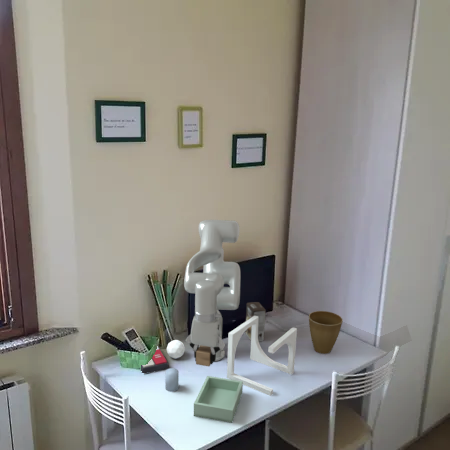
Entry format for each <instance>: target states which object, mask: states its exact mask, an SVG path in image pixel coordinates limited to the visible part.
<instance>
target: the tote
mask: <svg viewBox="0 0 450 450" xmlns="http://www.w3.org/2000/svg"><path fill="white" fill-rule="evenodd" d="M243 386H244V385H243V381H237V380H231V379H228V378H223V377H216V376H210V375H207V376H206V378H205V380H204V382H203V384H202V386H201V388H200V390H199V392H198V394H197V396H196V399H195V400H194V403H193V416H194V417H197V418H202V419H208V420H214V421H219V422H224V423H231V424H232V423H233V422H234V419H235V416H236V413H237V410H238V407H239V404H240V401H241V398H242V395H243Z"/></svg>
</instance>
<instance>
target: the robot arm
mask: <svg viewBox="0 0 450 450" xmlns="http://www.w3.org/2000/svg"><path fill="white" fill-rule="evenodd" d="M198 235H199V239H200V246H199V247H200V248H199V251H198V252H196V253H195V254H193V256H192V257H191V258H190V259H189V260H188V262H187V264H186V266H185V273H184V279H183V280H184V281H183V286H184V290H185V291H186V293H189V294H195V296H194V306H195V307H194V316H193V319H192V323H191V329H190V334H189V335H188V336H187V337H186V339H185V341H184V342H186V343H187V344H188V345H189V346H190V347H191V349H192V351H194V352H193V353H194V354H193V358H194V360H195V362H196V351H197V350H198V348H199V347H200V345H202V346H208V347H210V348H211V355H210V365H213V364H214V362H219V361H221V360H222V359H223V358H225V356H226V351H225V349H224V348H225V347H226V343H225V342H224V340H223V338H222V337H223V317H222V316H223V315H222V313H221V312H220V311H219V310H224V311H225V310H226V311H235V310H237V309H239V307H240V306H239V305H240V302H241V301H240V300H241V267H240V265H239V264H238V263H237V262H235V261H225V260H224V255H225V254H224V253H225V251H224V250H225V249H224V248H223V243H229V244H230V243H233V244H235V243H237V242H238V240H239V237H240V224H239V222H238V221H236V220H226V219H225V220H223V219H204V220H201V221H200V222H199V223H198ZM201 267H203V271H202V272H195V271H197V269H199V268H201ZM224 285H229V286H224Z"/></svg>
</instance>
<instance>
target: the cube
mask: <svg viewBox="0 0 450 450" xmlns="http://www.w3.org/2000/svg"><path fill="white" fill-rule="evenodd" d="M210 355H211V348H210V347H208V346H202V345H199V348H198V350H197V351H196V361H195V365H198V366H204V367H210V366H211V364H210Z"/></svg>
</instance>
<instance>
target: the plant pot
mask: <svg viewBox="0 0 450 450" xmlns="http://www.w3.org/2000/svg"><path fill="white" fill-rule="evenodd" d="M343 320H344V319H343V317H342V316H340V315H339V314H337V313H335V312H331V311H327V310H316V311H312V312H310V313H309V314H308V326H309V334H310V338H311V342H312V346H313V349H314V351H315V352H316V353H318V354H320V355H321V354H322V355H327V354H330V353H331V352H332V350H333V348H334V346H335V344H336V342H337V340H338V337H339V335H340V332H341V329H342V325H343Z"/></svg>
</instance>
